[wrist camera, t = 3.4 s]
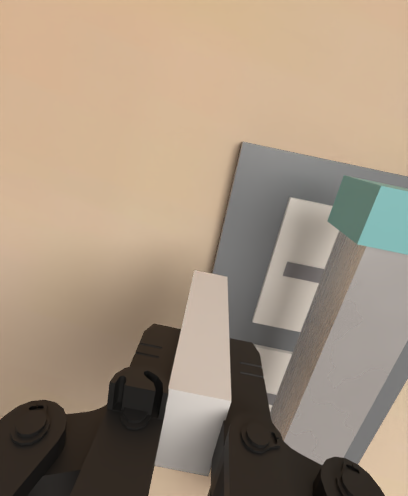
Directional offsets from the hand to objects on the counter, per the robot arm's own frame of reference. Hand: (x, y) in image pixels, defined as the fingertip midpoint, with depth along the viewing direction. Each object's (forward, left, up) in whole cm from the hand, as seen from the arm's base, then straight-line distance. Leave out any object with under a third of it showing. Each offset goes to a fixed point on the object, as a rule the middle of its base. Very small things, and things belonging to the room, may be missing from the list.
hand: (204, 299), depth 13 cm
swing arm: (+6, -7, -1) cm, 9 cm away
